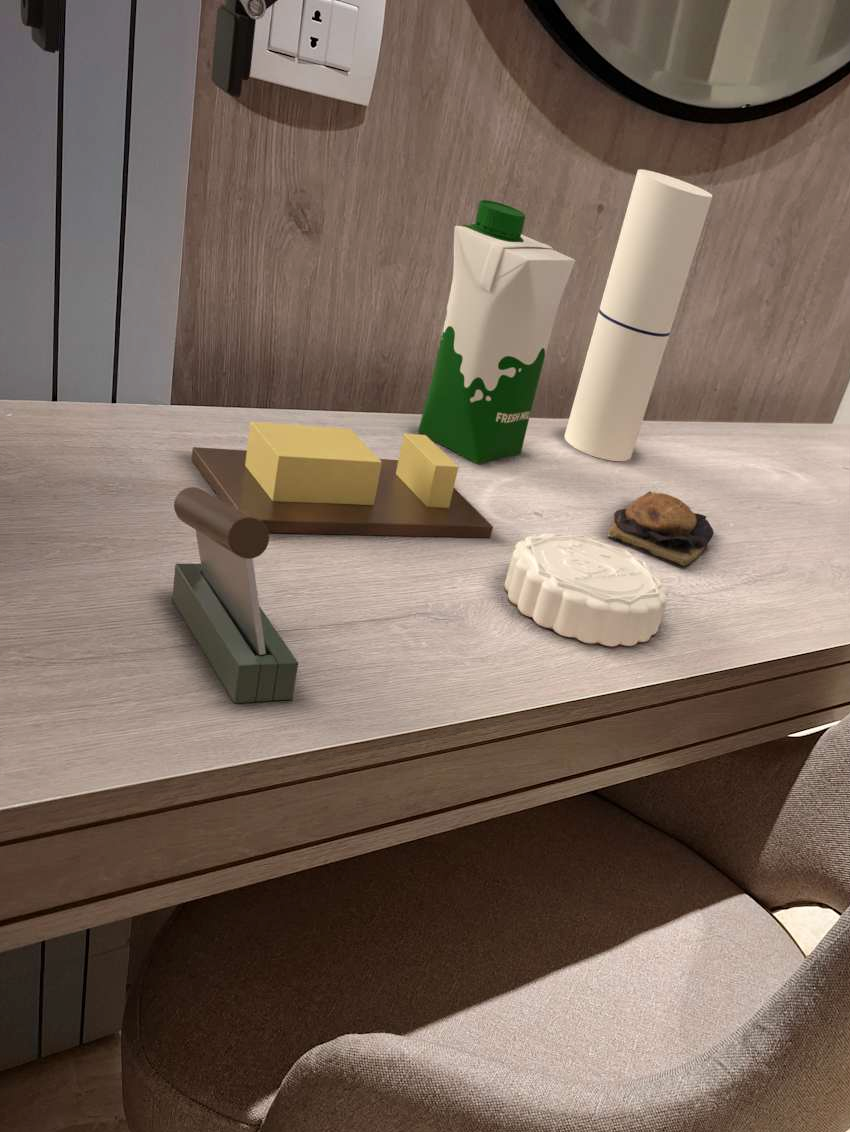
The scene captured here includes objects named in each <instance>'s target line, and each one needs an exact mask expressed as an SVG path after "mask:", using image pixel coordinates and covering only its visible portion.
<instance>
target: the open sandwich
mask: <svg viewBox="0 0 850 1132" xmlns="http://www.w3.org/2000/svg"><path fill="white" fill-rule="evenodd" d="M713 536H714V529H713V528H712V526H711V523H710V522H709V521H708V520H707V515H704V514H701V513H695V512H693V510H692V509H691V508H690V507H689V505H687V504H686V503H685V502H683V501H682V500H681V499H679V498H677V497H675V496H672V495H670V494H667V493H663V492H652V491H648V492H646V493H645V494H643V495H641V496H639V497H637V498H636V499H635V500H633V501H632V502H631V503H630V504H629V505H628V507H627V508H622V509H617V510H616V511H615V512H614V514H613V523H612V524H611V527H610V528H609V530H608V532H607V537H608V538H610V537H611V538H614V539H619V540H621V541H622V542H623V543H627V544H630V545H633V546H636V547H638V548H642V549H644V550H646V551H648V552H649V553H651V554H653V555H655V556H658V557H661V558H663V559H667V560H669V561H671V562H674V563H677V564H679V565H680V566H683V567H685V566H687V565H689V564H691V563H692V562H694V561H695V560H698V558H699V556H700V555H701V554H703V551H704V550H705V548H706V547H707V546H708V544H709V543H710V541H711V540H712V538H713Z"/></svg>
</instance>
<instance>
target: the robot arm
mask: <svg viewBox="0 0 850 1132" xmlns="http://www.w3.org/2000/svg"><path fill="white" fill-rule="evenodd" d="M278 1H279V0H225V4H222V3H220V6H219V7H217V10H216V22H215V31H214V32H215V33H214V42H213V43H214V44H213V54H212V56H213V57H212V65H211V66H212V67H211V82H212V83H213V84H214V85H215V86H216V87H218V88H219V89H220V90H221V91H223V92H225V94H227V95H228V96H231V97H235V98H240V96H241V95H242V88H243V87H242V86H243V81H248V80H249V79H250V75H251V69H252V61H253V53H254V52H253V49H254V42H255V41H254V40H255V32H256V21H257V20H261V19H262V18H263V17H264V16H265V14H266V11H267V10H268V9H269V8H270V7H272V6H273V5H274V4H275V3H276V2H278ZM61 5H62V0H20V18H21V23H22V25H24V26H26V27H30V28H31V40H32V41H33V42H34V44H36V45H37V46H38V47H39V48H40V49H41V50H42V51H44V52H47V53H52V54H55V53H56V52H59V51H60V43H61V10H62V9H61Z"/></svg>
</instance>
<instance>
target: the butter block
mask: <svg viewBox="0 0 850 1132" xmlns="http://www.w3.org/2000/svg"><path fill="white" fill-rule="evenodd" d="M249 424H250V425H249V430H248V439H247V447H246V450H247V454H246V462H245V466H246V468H247V469H248V470H249V471H250V473H251V474H252V475H253V477H254V478H255V479H256V480H257V482H258V483H259V484H260V485H261V487H262V488H263V489H264V491H265V492H266V493H267V494H268V496H269V497H270V498H271V500H272V501H278V502H304V503H331V504H357V505H374V502H375V496H376V491H377V486H378V481H379V475H380V470H381V465H382V462H381V461H380V460H379V459H380V458H379V457H378V456H377V455H376V454H375V453H374V452H373V451H372V450H371V448H369V447H368V446H367V445H366V443H365V442H363V440H362V439H361V438H360V437H359V436H358V435H357V434H356V433H355V432H354V431H353V430H352V429H351V428H342V427H341V428H340V427H329V426H328V427H326V426H315V425H301V424H288V423H276V422H263V421H250V422H249Z"/></svg>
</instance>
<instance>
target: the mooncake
mask: <svg viewBox="0 0 850 1132" xmlns="http://www.w3.org/2000/svg"><path fill="white" fill-rule="evenodd" d="M505 577H506V578H505V581H504V588H505V591H506V592H507V597H508V600H509V601H510V602H511V603H512V604H514V605H515V606H517V610H518V611H519V612H520V613H521V614H522V615H524V616H526V617H529V618H532V619H533V621H534V623H536V624H537V625H538V626H541V627H542V628H545V629H546V628H547V629H551V630H553V631H554V632H555V633H556V634H558V635H560V636H562V637H566V638H575V639H577V640H578V641H580V642H582V643H586V644H600V645H603V646H604V647H605V646H606V647H616V646H618V645H621V646H626V647H632V646H635V645H636V644H637V643H644V642H648V641H649V640H650V639H651V637H652V636H653V635H656V633H657V632H658V630H659V627H660V624H661V621H662V619H663V616H664V613H665V610H666V607H667V605H668V602H669V598H668V595H669V589H668V587H667V586H666V584H664V580H663V578H662V576H660V574H658V573H656V572H655V571H653V569H652V568H651V566H650V565H648V564H647V563H646V561H645V560H643V559H641V558H638V557H635V556H634V555H633V554H631V553H630V552H629V551H628V550H627V549H623V548H620V547H616V546H613V545H611V544H608V543H603V542H600V541H598V540H595V539H593V538H591V537H589V536H586V535H584V534H575V535H572V534H569V533H566V532H562V531H560V532H557V533H549V532H545V533H544V532H543V533H541V534H539V535H529V536H526V537H525V539H524V540H521V541H517V543H516V544H515V546H514V550H513V552H512V555H511V559H510V561H509V566H508V569H507V574H506V576H505Z"/></svg>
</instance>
